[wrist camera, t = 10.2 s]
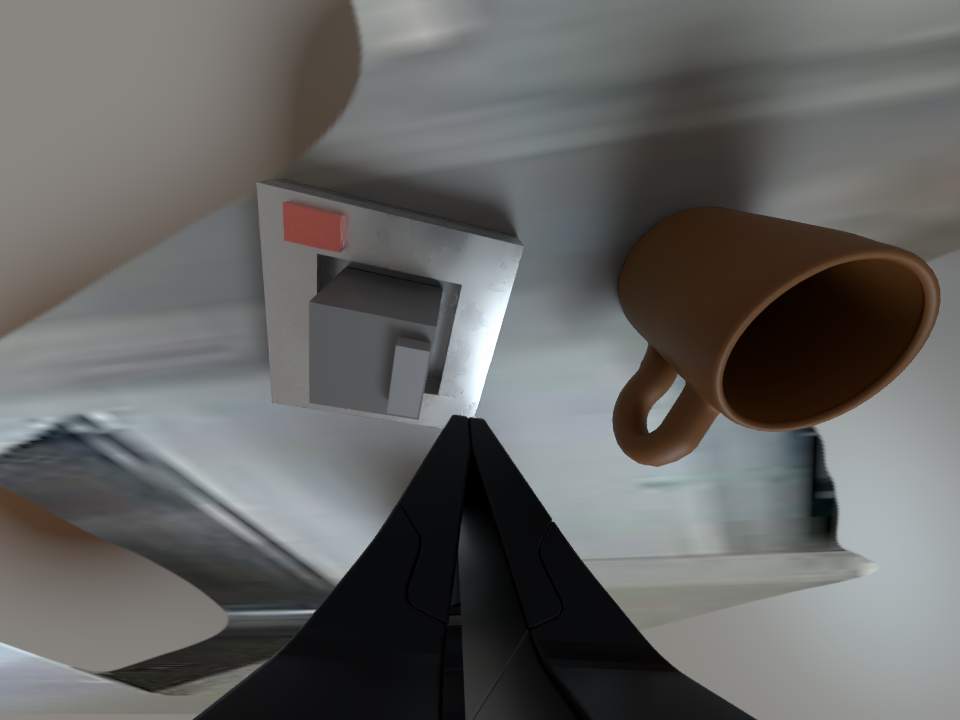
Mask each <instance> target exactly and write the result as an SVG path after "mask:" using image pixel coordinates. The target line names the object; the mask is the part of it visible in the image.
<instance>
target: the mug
mask: <svg viewBox="0 0 960 720" xmlns="http://www.w3.org/2000/svg"><path fill="white" fill-rule="evenodd" d="M619 299H620V304H621V307H622V310H623V312H624V314H625V316H626V318H627V319H628V321H629V322H630V323H631V325H632V326H633V327H634V328H635V329H636V330H637V331H638V333H639V334H640V335H641V336H642V337H643V338H644V339H645V340H646V341H647V342H648V348H647V351H646V354H645V357H644V359H643V360H642V362H641V365H640V368H639V370H638V371H637V372H636V373H635V375H634V376H633V377H632V378H631V379H630V380H629V381H628V382H627V384H626V385H625V386H624V388H623V389H622V391H621V392H620V394H619V396H618V399H617V401H616V404H615V407H614V411H613V431H614V434H615V437H616V440H617V444H618V445H619V446H620V448H621V449H622V451H623V452H624V453H625V454H626V455H627V456H628V457H630V458H631V459H633V460H634V461H636V462H638V463H640V464H643V465H650V466H656V467H659V466H662V465H665V464H668V463H672V462H675V461H678V460H679V459H681V458H683V457H684V456H686V455H688V454H690V453H691V452H692V451H693V450H694V449H695V448H696V447H697V446H698V444H699V443H700V441H701V440H702V438H703V437H704V435H705V434H706V432H707V431H708V429H709V428H710V426H711V424H712V423H713V421H714V420H715V418H716V417H717V416H718V414H719V413H722V414H723V415H724V416H725V417H727V418H728V419H730V420H731V421H733V422H735V423H736V424H739V425H742V426H744V427H747V428H750V429H755V430H759V431H768V432H780V431H790V430H796V429H801V428H806V427H810V426H813V425H817V424H820V423H822V422H825V421H828V420H831V419H833V418H835V417H837V416H840V415H842V414H844V413H846V412H848V411H850V410H852V409H853V408H855V407H857V406H858V405H860V404H862V403H863V402H865V401H867V400H868V399H870V398H871V397H873V396H874V395H875V394H877V393H878V392H880V391H881V390H882V389H883V388H884V387H886V386H887V385H888V384H890V383H891V382H892V381H893V380H894V379H895V378H896V377H897V376H898V375H899V374H900V373H901V372H903V370H904V369H905V368H906V367H907V366H908V365H909V364H910V363H911V362H912V360H913V359H914V358H915V356H916V355H917V354H918V353H919V351H920V350H921V349H922V347H923V345H924V344H925V342H926V341H927V339H928V337H929V335H930V333H931V331H932V329H933V327H934V325H935V322H936V319H937V316H938V313H939V306H940V288H939V284H938V279H937V278H936V276H935V274H934V272H933V270H932V269H931V268H930V267H929V266H928V265H927V264H926V262H925V261H924V260H923V259H921V258H920V257H918V256H917V255H915V254H914V253H912V252H909V251H907V250H904V249H902V248H899V247H895V246H892V245H888V244H884V243H881V242H877V241H874V240H871V239H868V238H865V237H862V236H859V235H856V234H852V233H848V232H844V231H840V230H835V229H830V228H825V227H820V226H815V225H810V224H805V223H800V222H795V221H790V220H785V219H780V218H775V217H769V216H764V215H758V214H752V213H747V212H742V211H737V210H732V209H726V208H720V207H701V208H693V209H689V210H685V211H681V212H679V213H676V214H674V215H672V216H670V217H668V218H666V219H664V220H663V221H661V222H659V223H658V224H656V225H655V226H654V227H653V228H651V229H650V230H649V231H648V232H647V233H646V234H645V235H644V236H643V237H642V238H641V239H640V240H639V241H638V243H637V244H636V245H635V246H634V248H633V249H632V251H631V252H630V254H629V256H628V258H627V260H626V262H625V264H624V266H623V269H622V272H621V276H620V281H619ZM677 374H679V375H680V376H681V377H682V378H683V379H684V380H685V381H686V385H685V387H684V389H683V391H682V393H681V394H680V396H679V397H678V399H677V400H676V402H675V403H674V405H673V407H672V408H671V410H670V411H669V413H668V414H667V416H666V417H665V419H664V421H663V422H662V424H661V425H660V426H659V427H658V428H657V429H656V430H654V431H653V432H651V433H649V432H648V430H647V417H648V413H649V411H650V409H651V407H652V406H653V405H654V404H655V402H656V401H657V400H659V399H660V398H661V397H662V396H663V395H664V394H665V393H666V392H667V391H668V389H669V388H670V387H671V385H672V384H673V382H674V381H675V379H676V377H677Z"/></svg>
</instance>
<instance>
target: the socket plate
mask: <svg viewBox="0 0 960 720" xmlns="http://www.w3.org/2000/svg"><path fill="white" fill-rule="evenodd" d="M256 185H257V199H258V213H259V226H260V240H261V254H262V268H263V281H264V295H265V309H266V322H267V336H268V350H269V364H270V377H271V391H272V403H278V404H284V405H291V406H297V407H304V408H311V409H317V410H324V411H330V412H337V413H344V414H350V415H357V416H363V417H370V418H377V419H383V420H390V421H396V422H403V423H410V424H416V425H423V426H430V427H436V428H443V429H444V427H445V425H446V424H447V422H448V421H449V419H450V417H451V416H452V415H454V414H455V415H462V416H466V417H467V418H469V417H474V416H475V413H476V410H477V406H478V403H479V399H480V396H481V392H482V389H483V385H484V382H485V379H486V375H487V372H488V368H489V365H490V361H491V358H492V355H493V351H494V348H495V344H496V341H497V337H498V334H499V330H500V327H501V324H502V320H503V317H504V313H505V310H506V306H507V303H508V300H509V296H510V293H511V289H512V286H513V282H514V279H515V276H516V272H517V269H518V265H519V262H520V258H521V255H522V251H523V248H524V246H523V244H522V243H521V241H520V240H519V238H518V237H517V236H514V235H510V234H506V233H502V232H498V231H493V230H489V229H485V228H481V227H477V226H473V225H469V224H465V223H461V222H456V221H452V220H448V219H444V218H440V217H436V216H432V215H428V214H424V213H419V212H415V211H411V210H407V209H403V208H399V207H395V206H391V205H387V204H382V203H378V202H374V201H370V200H366V199H362V198H358V197H354V196H349V195H345V194H341V193H337V192H333V191H329V190H325V189H321V188H317V187H312V186H308V185H304V184H300V183H296V182H292V181H288V180H284V179H278V180H270V181H262V182H256ZM345 267H346V268H350V269H355V270H360V271H364V272H369V273H374V274H378V275H383V276H388V277H392V278H397V279H402V280H406V281H411V282H415V283H420V284H425V285H429V286H434V287H439V288H443V291H442V297H441V303H440V310H439V316H438V323H437V329H436V334H435V339H434V344H433V349H432V354H431V359H430V364H429V370H428V375H427V380H426V385H425V390H424V395H423V400H422V405H421V411H420V416H419V420H415V419H409V418H403V417H396V416H390V415H383V414H377V413H370V412H364V411H358V410H351V409H345V408H338V407H332V406H325V405H319V404H313V403H309V301H310V300H311V299H312V298H313V297H314V296H316V295H317V294H318V293H319V292H320V291H321V290H322V289H323V288H324V287H325V286H326V285H327V284H328V283H329V282H330V281H331V280H332V279H333V278H335V277H336V276H337V275H338V274H339V273H340V272H341V271H342V270H343V269H344V268H345Z"/></svg>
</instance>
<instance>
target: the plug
mask: <svg viewBox="0 0 960 720" xmlns="http://www.w3.org/2000/svg"><path fill="white" fill-rule="evenodd" d="M442 291H443V288H439V287H434V286H429V285H425V284H420V283H415V282H411V281H406V280H402V279H397V278H392V277H388V276H383V275H378V274H374V273H369V272H364V271H360V270H355V269H350V268H346V267H345V268H344V269H343V270H342V271H341V272H340V273H339V274H338V275H337V276H336V277H335V278H333V279H332V280H331V281H330V282H329V283H328V284H327V285H326V286H325V287H324V288H323V289H322V290H321V291H320V292H319V293H318V294H317V295H316V296H314V297H313V298H312V299H311V300H310V301H309V403H313V404H319V405H325V406H332V407H338V408H345V409H351V410H358V411H364V412H370V413H377V414H383V415H390V416H396V417H403V418H409V419H415V420H419V416H420V411H421V405H422V400H423V395H424V390H425V385H426V380H427V375H428V370H429V364H430V359H431V354H432V349H433V344H434V339H435V334H436V329H437V323H438V316H439V310H440V303H441V297H442Z"/></svg>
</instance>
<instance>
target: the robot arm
mask: <svg viewBox="0 0 960 720" xmlns="http://www.w3.org/2000/svg"><path fill="white" fill-rule="evenodd" d="M193 720H757V719H755V718H754V717H752V716H750V715H749V714H747V713H745V712H744V711H742V710H740V709H739V708H737V707H736V706H734V705H733V704H731V703H729V702H727V701H726V700H724V699H723V698H721V697H720V696H718V695H717V694H715V693H713V692H712V691H710V690H708V689H707V688H705V687H703V686H702V685H700V684H699V683H697V682H695V681H694V680H692V679H691V678H689V677H688V676H686V675H685V674H683V673H681V672H680V671H679V670H678V669H676V668H675V667H674V666H672V665H671V664H670V663H669V662H668V661H667V660H666V659H664V658H663V657H662V656H661V655H660V654H659V653H658V652H657V651H656V650H655V649H654V648H653V647H652V646H651V644H650V643H649V642H648V641H647V640H646V639H645V637H644V636H643V635H642V634H641V633H640V632H639V630H638V629H637V628H636V627H635V625H634V624H633V623H632V622H631V621H630V619H629V618H628V617H627V616H626V614H625V613H624V612H623V611H622V610H621V608H620V607H619V606H618V605H617V604H616V602H615V601H614V600H613V599H612V597H611V596H610V595H609V594H608V593H607V591H606V590H605V589H604V588H603V587H602V585H601V584H600V583H599V582H598V580H597V579H596V578H595V577H594V575H593V574H592V573H591V572H590V570H589V569H588V568H587V567H586V565H585V564H584V563H583V561H582V560H581V559H580V558H579V556H578V555H577V554H576V552H575V551H574V549H573V548H572V547H571V545H570V544H569V542H568V541H567V540H566V538H565V537H564V536H563V534H562V533H561V531H560V530H559V528H558V527H557V525H556V524H555V522H552V518H551V517H550V515H549V514H548V512H547V511H546V509H545V508H544V506H543V505H542V503H541V502H540V501H539V499H538V498H537V496H536V495H535V493H534V492H533V490H532V489H531V487H530V486H529V484H528V483H527V481H526V480H525V479H524V477H523V476H522V474H521V473H520V471H519V470H518V468H517V467H516V465H515V464H514V462H513V461H512V459H511V458H510V457H509V455H508V454H507V452H506V451H505V449H504V448H503V446H502V445H501V443H500V442H499V440H498V439H497V437H496V436H495V434H494V433H493V432H492V430H491V429H490V427H489V426H488V424H487V423H486V421H485V420H484V419H482V418H475V417H469V418H467V417H466V416H462V415H455V414H454V415H452V416H451V417H450V419H449V421H448V422H447V424H446V425H445V427H444V429H443V430H442V432H441V434H440V435H439V437H438V438H437V440H436V442H435V443H434V445H433V446H432V448H431V450H430V451H429V453H428V454H427V456H426V458H425V459H424V461H423V463H422V464H421V466H420V467H419V469H418V471H417V472H416V474H415V475H414V477H413V479H412V480H411V482H410V483H409V485H408V487H407V488H406V490H405V492H404V493H403V495H402V496H401V498H400V500H399V501H398V503H397V505H396V506H395V507H394V509H393V510H392V512H391V514H390V515H389V517H388V518H387V520H386V521H385V523H384V524H383V526H382V527H381V529H380V530H379V532H378V533H377V535H376V536H375V538H374V539H373V540H372V542H371V543H370V544H369V546H368V547H367V548H366V550H365V551H364V552H363V553H362V555H361V556H360V557H359V559H358V560H357V561H356V562H355V564H354V565H353V566H352V567H351V568H350V570H349V571H348V572H347V573H346V574H345V576H344V577H343V578H342V579H341V581H340V582H339V583H338V584H337V585H336V587H335V588H334V589H333V590H332V591H331V593H330V594H329V595H328V596H327V598H326V599H325V600H324V601H323V602H322V604H321V605H320V606H319V607H318V609H317V610H316V611H315V612H314V613H313V615H312V616H311V617H310V618H309V619H308V620H307V622H306V623H305V624H304V625H303V626H302V627H301V629H300V630H299V631H298V632H297V633H296V634H295V635H294V636H293V637H292V638H291V639H290V640H289V641H288V642H287V643H286V644H285V645H284V646H283V647H282V648H281V649H280V650H279V651H278V652H277V653H276V654H275V655H274V656H273V657H271V658H270V659H269V660H268V661H267V662H265V663H264V664H263V665H262V666H260V667H259V668H258V669H256V670H255V671H254V672H253V673H251V674H250V675H249V676H248V677H246V678H245V679H244V680H242V681H241V682H240V683H239V684H237V685H236V686H235V687H234V688H232V689H231V690H230V691H228V692H227V693H226V694H225V695H223V696H222V697H221V698H220V699H218V700H217V701H216V702H214V703H213V704H212V705H211V706H209V707H208V708H207V709H206V710H204V711H203V712H202V713H201V714H199V715H198V716H197V717H196V718H194V719H193Z"/></svg>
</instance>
